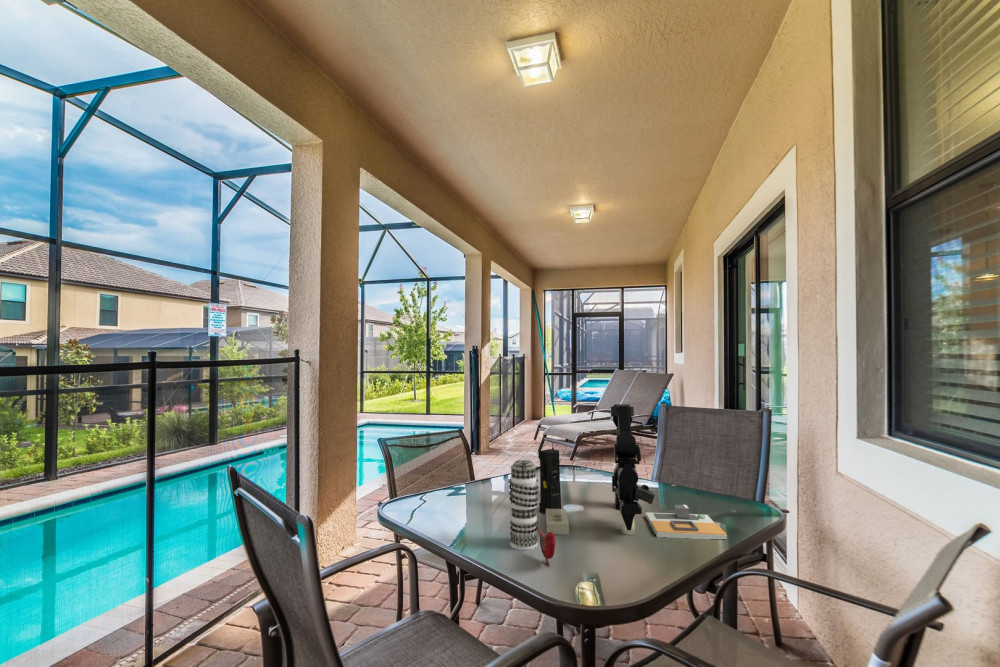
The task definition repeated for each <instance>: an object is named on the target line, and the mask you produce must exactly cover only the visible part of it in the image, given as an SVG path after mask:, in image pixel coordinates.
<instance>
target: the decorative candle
mask: <svg viewBox="0 0 1000 667" xmlns="http://www.w3.org/2000/svg"><path fill="white" fill-rule="evenodd" d="M536 468H538V467H537V465H535V464H534V462H533V461H531V460H529V459H527V460H526V459H520V460H515V461H514V462H513V464H512V465H510V469H511V470H510V473H511V474H510V478H509V480H508V483H509V485H508V489H509V493H508V494H509V497H508V498H509V501H510V503H509V507H511V514H510V521H509V524H510V526H509V528H510V530H511V531H510V532H509V535H510V538H509V540H510V544H509V545H510V547H511V548H513V549H515V550H518V551H519V550H520V551H530V550H534V549H536V548H538V545H539V542H538V541H539V539H538V536H539V532H538V528H539V527H538V524H539V521H538V520H537V519H538V518H537V517H538V516H537V507H538V506H539V503H538V500H539V498H538V497H537V495H538V494H539V491H537V490H538V489H539V485H537V484H536V483H537V482H538V481H539V480H538V479H537V476H536ZM535 547H536V548H535Z"/></svg>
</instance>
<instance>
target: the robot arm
mask: <svg viewBox="0 0 1000 667" xmlns="http://www.w3.org/2000/svg"><path fill="white" fill-rule="evenodd" d="M610 417H612V422H613V424H614V425H615V427H616V437H615V438H616V439H615V441H616V442H615V443H614V445H613V446H614V449H613V451H614V464H616V465H615V468H614V469H613V475H611V491H612V493H614V503H613V504H614V507H615V510H619V512H620V515H621V518H622V517H623V520H624V522H625V525H626V528H627V530H631V528H632V523H633V519H634V520H635V516H636V515H642V514H643V512H642V510H643V508H642V505H641V504H640V503H639V501H643V502H645V503H648V504H649V505H653V502H654V499H655V497H656V494H655V493H654V492H653V491H652V490H650V487H649V485H647V484H642V485H641V486H640V485H639V484H638V482H639V475H638V472H637V470H636V468H637V467H636V466H637V465H640V463H641V461H642V454H641V447H640V446H639V444H638V443H636V442H637V441H636V437H635V436H634V435H633V434H632V428H631V424H632V422H633V421H632V420H633V419H632V418H633V417H635V408H634V406H631V404H627V403H626V404H624V403H621V404H620V403H619V404H618V403H616V404H615V403H613V406H610Z"/></svg>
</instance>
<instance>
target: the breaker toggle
mask: <svg viewBox="0 0 1000 667" xmlns="http://www.w3.org/2000/svg"><path fill="white" fill-rule="evenodd" d="M673 508H674V510H673V511H674V513H675V515H676V517H677V518H689V514H690V507H688V505H686V504H674V506H673Z"/></svg>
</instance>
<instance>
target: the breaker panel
mask: <svg viewBox="0 0 1000 667" xmlns="http://www.w3.org/2000/svg"><path fill="white" fill-rule="evenodd" d="M645 518H646V519H647V522H648V521H649V522H648V524H649V525H650V527H651V529H652V530H653V533H654V534H655V535H656V538H663V537H666V538H665V539H667V538H669V539H686V538H688V539H689V538H690V539H691V540H692V539H693V540H710V539H727V540H728V535H727V533H726V532H725V530H723V529H722V528H721V527H720V526H719V525H718V524H717V523H716V522H715V521H714V520H713V519H712V518H711V517H710V516H709V515H708V514H702V513H697V514H695V513H689V518H677V517H676V515H675V513H671V512H670V513H667V512H645ZM688 539H687V540H688ZM690 539H689V540H690Z"/></svg>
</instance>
